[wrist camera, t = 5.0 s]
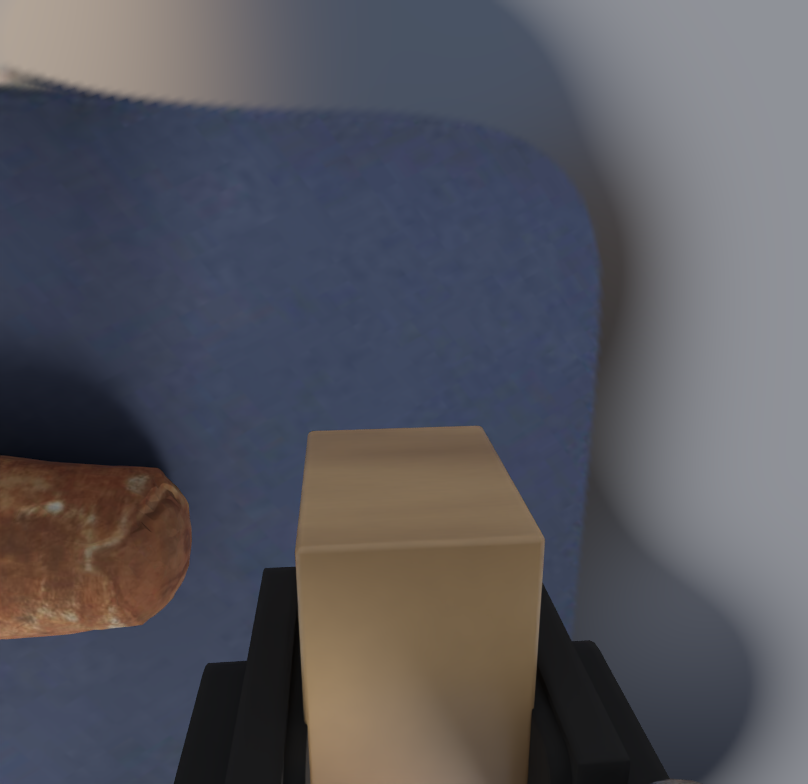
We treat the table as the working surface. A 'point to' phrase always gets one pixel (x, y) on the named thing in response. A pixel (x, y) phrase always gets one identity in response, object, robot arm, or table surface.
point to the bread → (87, 546)
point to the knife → (416, 608)
